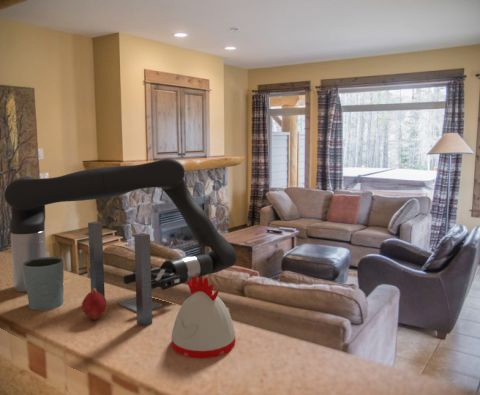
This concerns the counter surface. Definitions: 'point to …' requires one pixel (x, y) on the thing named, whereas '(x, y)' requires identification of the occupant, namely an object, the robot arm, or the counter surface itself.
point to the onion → (94, 304)
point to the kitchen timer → (203, 323)
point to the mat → (132, 304)
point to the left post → (96, 256)
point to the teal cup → (44, 282)
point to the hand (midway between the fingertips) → (133, 283)
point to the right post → (143, 279)
